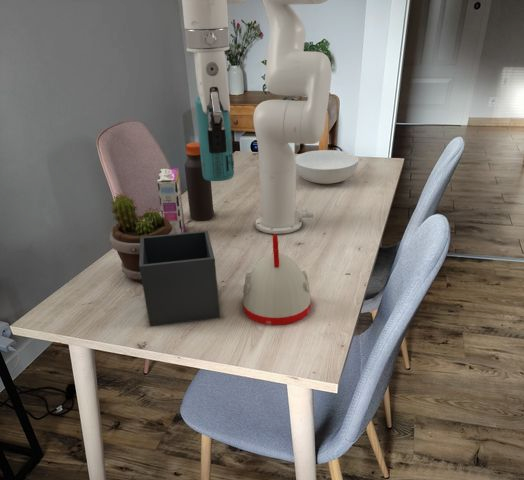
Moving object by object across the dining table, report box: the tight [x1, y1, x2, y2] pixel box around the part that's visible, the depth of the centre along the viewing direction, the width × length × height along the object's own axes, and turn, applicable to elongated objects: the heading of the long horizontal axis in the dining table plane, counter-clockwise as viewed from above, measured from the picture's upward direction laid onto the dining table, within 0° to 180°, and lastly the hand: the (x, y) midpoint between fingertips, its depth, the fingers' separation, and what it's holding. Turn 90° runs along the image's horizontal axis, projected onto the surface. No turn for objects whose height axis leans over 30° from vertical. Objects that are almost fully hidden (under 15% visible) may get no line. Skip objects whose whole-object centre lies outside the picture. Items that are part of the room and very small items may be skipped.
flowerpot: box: [108, 189, 176, 284], centre depth 119 cm, size 14×15×20 cm
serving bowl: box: [295, 149, 359, 185], centre depth 175 cm, size 21×21×7 cm
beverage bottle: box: [194, 95, 235, 182], centre depth 101 cm, size 6×7×20 cm
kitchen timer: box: [242, 234, 312, 326], centre depth 106 cm, size 14×14×15 cm
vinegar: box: [184, 141, 215, 222], centre depth 148 cm, size 7×7×20 cm
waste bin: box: [139, 230, 221, 327], centre depth 109 cm, size 14×14×13 cm
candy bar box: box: [156, 167, 186, 234], centre depth 138 cm, size 11×5×16 cm, turn 5°
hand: (215, 146), depth 103 cm, fingers closed on beverage bottle, 6 cm apart
